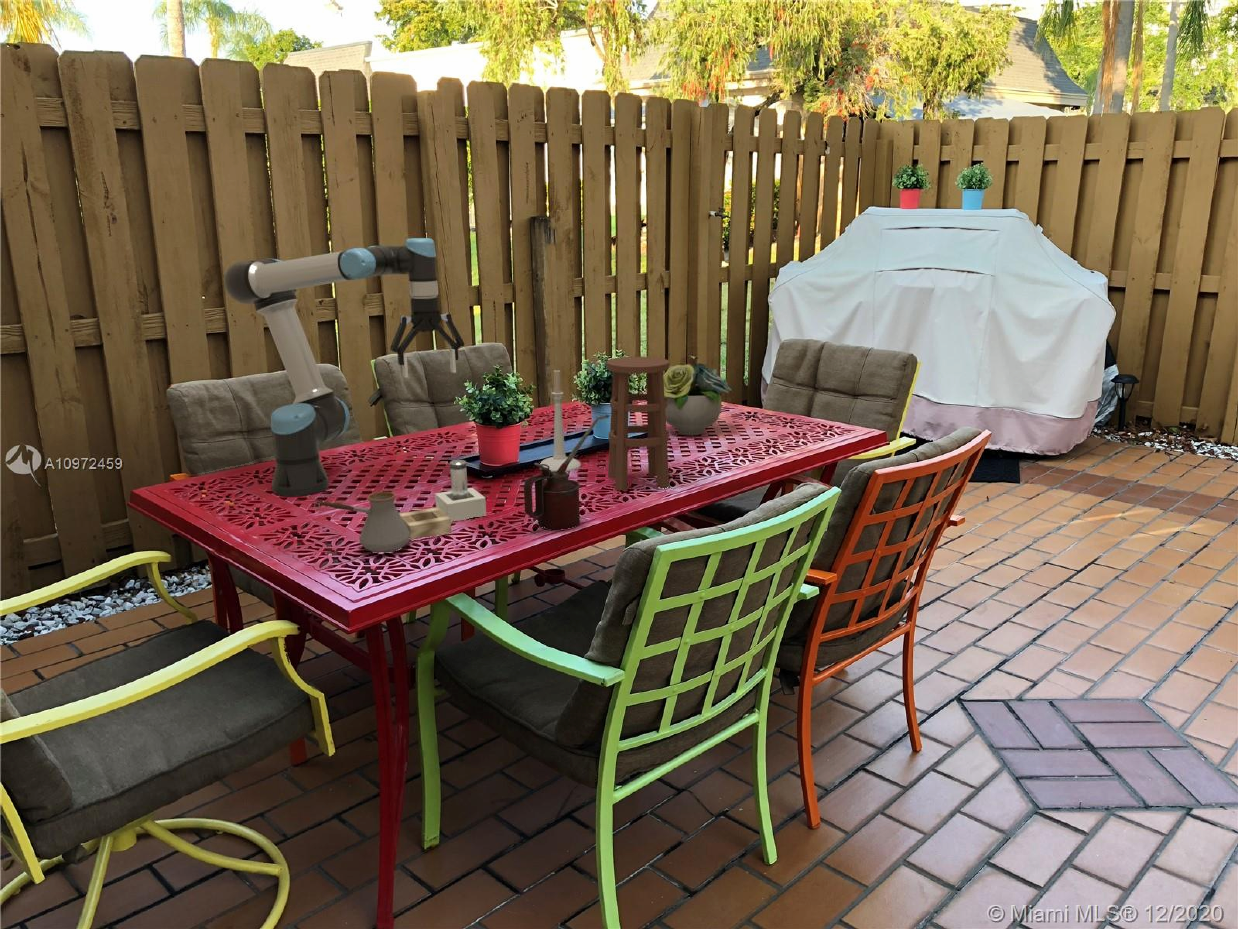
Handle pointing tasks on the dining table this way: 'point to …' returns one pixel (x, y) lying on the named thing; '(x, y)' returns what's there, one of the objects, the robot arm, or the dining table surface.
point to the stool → (653, 408)
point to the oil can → (555, 494)
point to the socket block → (426, 523)
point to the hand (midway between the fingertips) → (429, 374)
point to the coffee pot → (379, 523)
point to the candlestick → (559, 433)
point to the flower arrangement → (693, 397)
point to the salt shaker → (458, 480)
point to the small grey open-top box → (461, 505)
